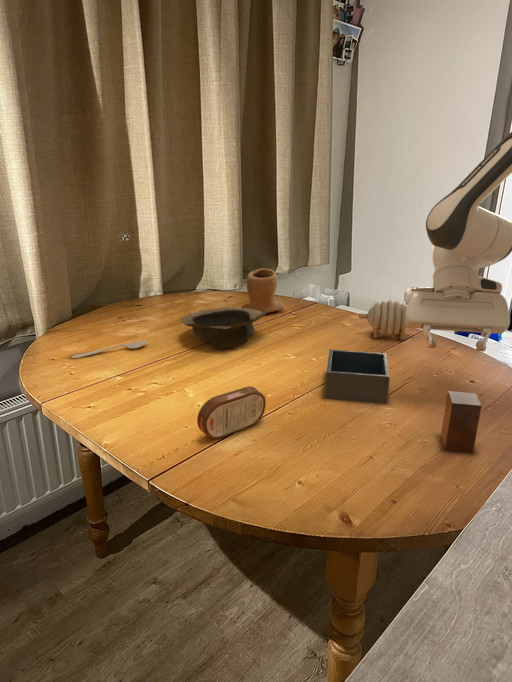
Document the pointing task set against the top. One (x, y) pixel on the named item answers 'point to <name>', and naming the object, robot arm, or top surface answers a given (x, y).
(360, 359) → the gray open box
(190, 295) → the top surface
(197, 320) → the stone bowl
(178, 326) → the top surface
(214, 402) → the tin
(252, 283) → the terracotta vase
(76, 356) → the spoon
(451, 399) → the block
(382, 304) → the toy sheep
